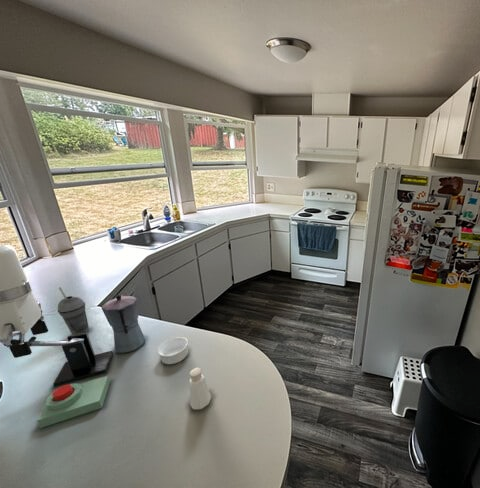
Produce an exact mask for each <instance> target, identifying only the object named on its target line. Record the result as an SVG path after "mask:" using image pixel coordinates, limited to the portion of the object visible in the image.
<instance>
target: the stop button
mask: <svg viewBox="0 0 480 488" xmlns="http://www.w3.org/2000/svg"><path fill="white" fill-rule="evenodd" d="M52 393H53V394H52ZM52 393H51V394H52V395H53V398H54V400H55V401H61V400H64V399H66V398H68V397H69V396H70V395H72V393H73V388H72V386H71V385H69V384H63V385H60V386H58V388H56V389H55V390H54V392H53V391H52Z"/></svg>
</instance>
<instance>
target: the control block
mask: <svg viewBox="0 0 480 488" xmlns="http://www.w3.org/2000/svg"><path fill="white" fill-rule="evenodd" d="M68 385H71V386H72V388H73V393H72V395H70V396H69V397H68V398H66V399H64V400H61V401H55V400H54V398H53V395H52V394H53V392H54V391H55V390H54V391H52V393H51V394H50V395H48V397H47V399H46V400H45V405H44V407H43V408H42V411H41V412H40V413H39V417H38V418H37V419H36V421H37V423H38V425H39V427H40V429H41V428H45V427H48V426H51V425H54V424H58V423H60V422H63V421H67V420H70V419H72V418H76V417H79V416H83V415H84V414H87V413H91V412H94V411H97V410H100V409H102V408H103V406H104V402H105V400H106V397H107V393H108V391H109V387H110V385H111V381H110V378H109V375H106V376H102V377H99V378H95V379H92V380H88V381H84V382H82V383H68Z"/></svg>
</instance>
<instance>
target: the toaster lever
mask: <svg viewBox="0 0 480 488" xmlns="http://www.w3.org/2000/svg"><path fill="white" fill-rule="evenodd" d="M81 340H83V343H84V338H72V340H71V341H68V340H37V337H36V336H31V337H30V338H29V339H28V340H27V342H28V345H29V347H30V348H31V347H62V345H63V344H67V343H72V342H76V341H81Z"/></svg>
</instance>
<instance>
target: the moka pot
mask: <svg viewBox="0 0 480 488" xmlns="http://www.w3.org/2000/svg"><path fill="white" fill-rule="evenodd" d="M114 297H115V298H112V299H111V300H108V301H106V302H105V303H104V304H103V305H102V306H101V310H102V312H103V314H104V317H105V319H106V320H107V323H108V324H109V326H110V327H111V328H112V331H113V342H114V343H113V344H114V351H115V353H119V354H124V353H129V352H133V351H134V350H137V349H139V348H140V347H141V346H143V345H144V344H145V342H146V337H145V335H144V333H143V331H142V327H141V325H140V324H139V305H138V298H136V297H134V296H132V295H126V296H125V295H121V294H116V295H115V296H114Z"/></svg>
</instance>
